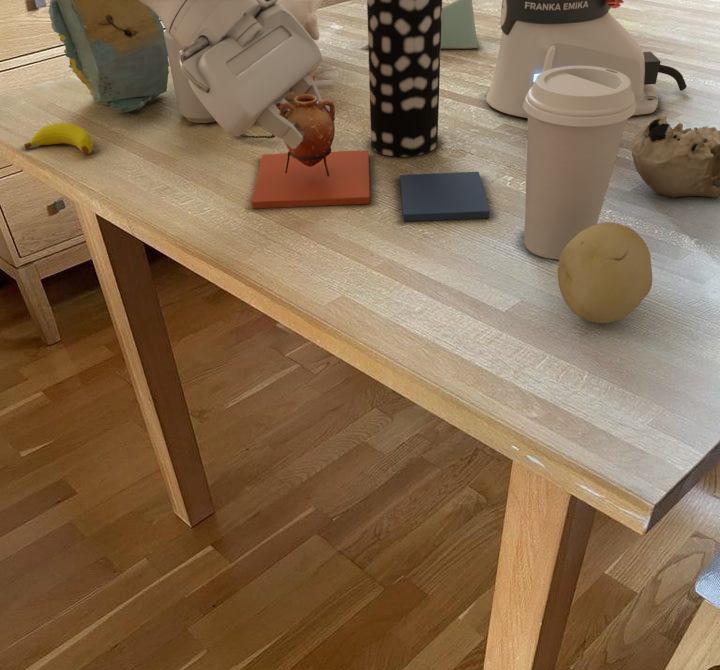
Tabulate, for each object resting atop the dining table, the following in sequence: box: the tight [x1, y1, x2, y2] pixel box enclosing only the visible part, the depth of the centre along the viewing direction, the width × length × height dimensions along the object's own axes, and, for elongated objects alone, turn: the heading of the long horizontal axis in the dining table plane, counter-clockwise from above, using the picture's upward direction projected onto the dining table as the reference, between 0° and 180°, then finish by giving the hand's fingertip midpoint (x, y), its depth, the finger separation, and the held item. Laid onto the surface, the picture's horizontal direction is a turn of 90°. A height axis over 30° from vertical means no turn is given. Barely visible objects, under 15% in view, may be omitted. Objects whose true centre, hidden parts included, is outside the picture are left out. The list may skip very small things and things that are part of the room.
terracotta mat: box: [251, 149, 371, 209], centre depth 87 cm, size 13×13×1 cm
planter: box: [364, 0, 478, 50], centre depth 121 cm, size 8×6×18 cm
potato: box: [557, 222, 653, 324], centre depth 63 cm, size 8×8×8 cm
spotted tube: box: [366, 0, 443, 158], centre depth 87 cm, size 8×8×20 cm
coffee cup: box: [523, 66, 636, 261], centre depth 69 cm, size 10×10×15 cm
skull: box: [630, 114, 720, 199], centre depth 81 cm, size 9×18×10 cm
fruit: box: [23, 122, 94, 155], centre depth 97 cm, size 10×2×5 cm
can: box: [164, 29, 217, 124], centre depth 100 cm, size 8×8×12 cm
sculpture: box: [48, 0, 170, 114], centre depth 103 cm, size 18×18×15 cm
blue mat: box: [399, 171, 491, 222], centre depth 83 cm, size 9×10×1 cm
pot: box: [278, 94, 336, 177], centre depth 84 cm, size 6×8×6 cm
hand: (313, 130), depth 83 cm, fingers closed on pot, 6 cm apart
